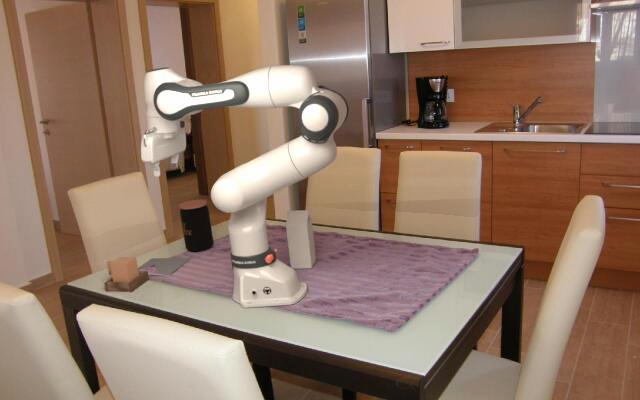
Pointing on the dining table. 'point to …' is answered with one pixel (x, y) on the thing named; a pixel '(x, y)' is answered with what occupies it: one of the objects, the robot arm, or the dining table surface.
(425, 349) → the dining table surface
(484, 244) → the dining table surface
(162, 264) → the mat
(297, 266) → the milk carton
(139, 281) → the tray
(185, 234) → the coffee jar
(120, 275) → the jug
